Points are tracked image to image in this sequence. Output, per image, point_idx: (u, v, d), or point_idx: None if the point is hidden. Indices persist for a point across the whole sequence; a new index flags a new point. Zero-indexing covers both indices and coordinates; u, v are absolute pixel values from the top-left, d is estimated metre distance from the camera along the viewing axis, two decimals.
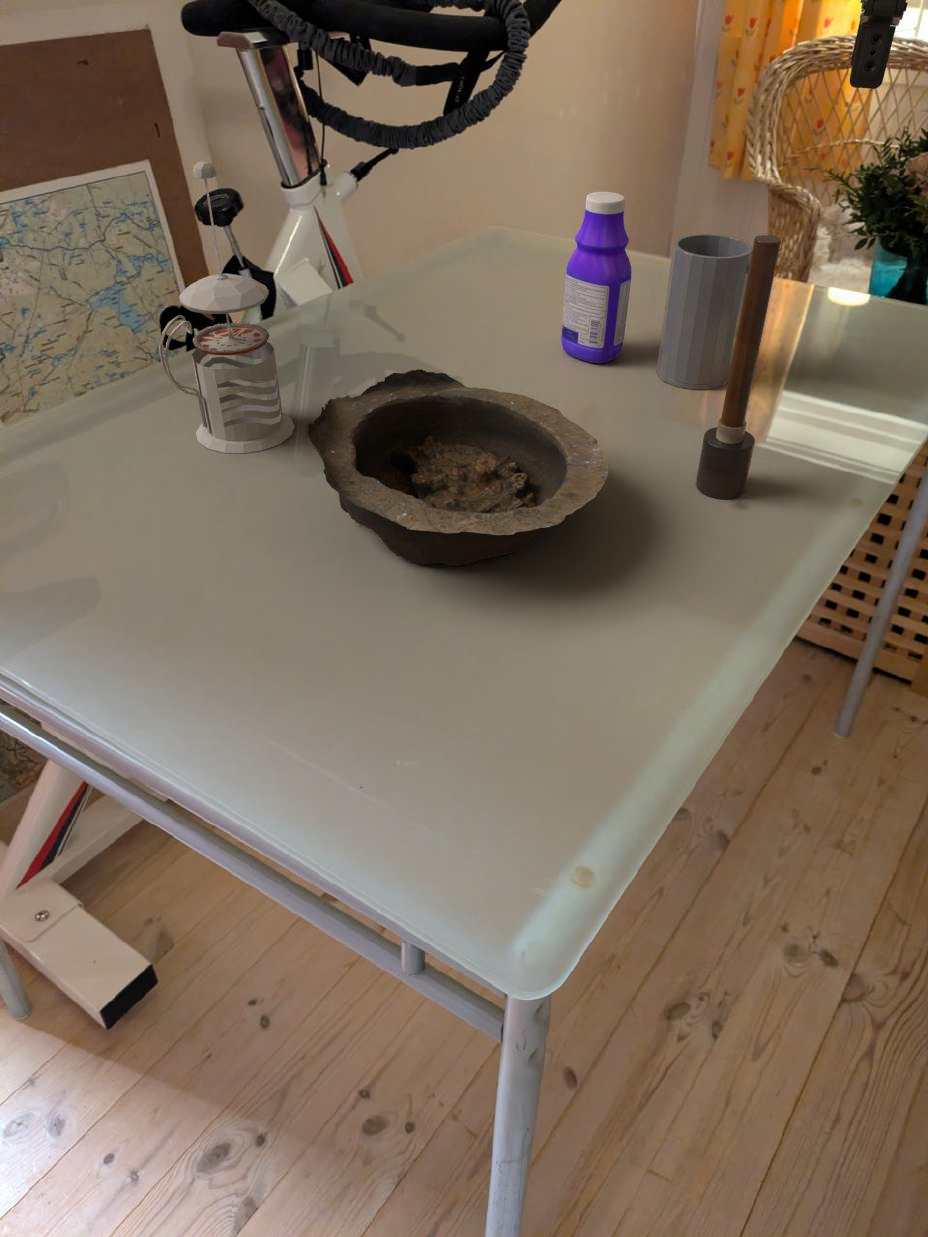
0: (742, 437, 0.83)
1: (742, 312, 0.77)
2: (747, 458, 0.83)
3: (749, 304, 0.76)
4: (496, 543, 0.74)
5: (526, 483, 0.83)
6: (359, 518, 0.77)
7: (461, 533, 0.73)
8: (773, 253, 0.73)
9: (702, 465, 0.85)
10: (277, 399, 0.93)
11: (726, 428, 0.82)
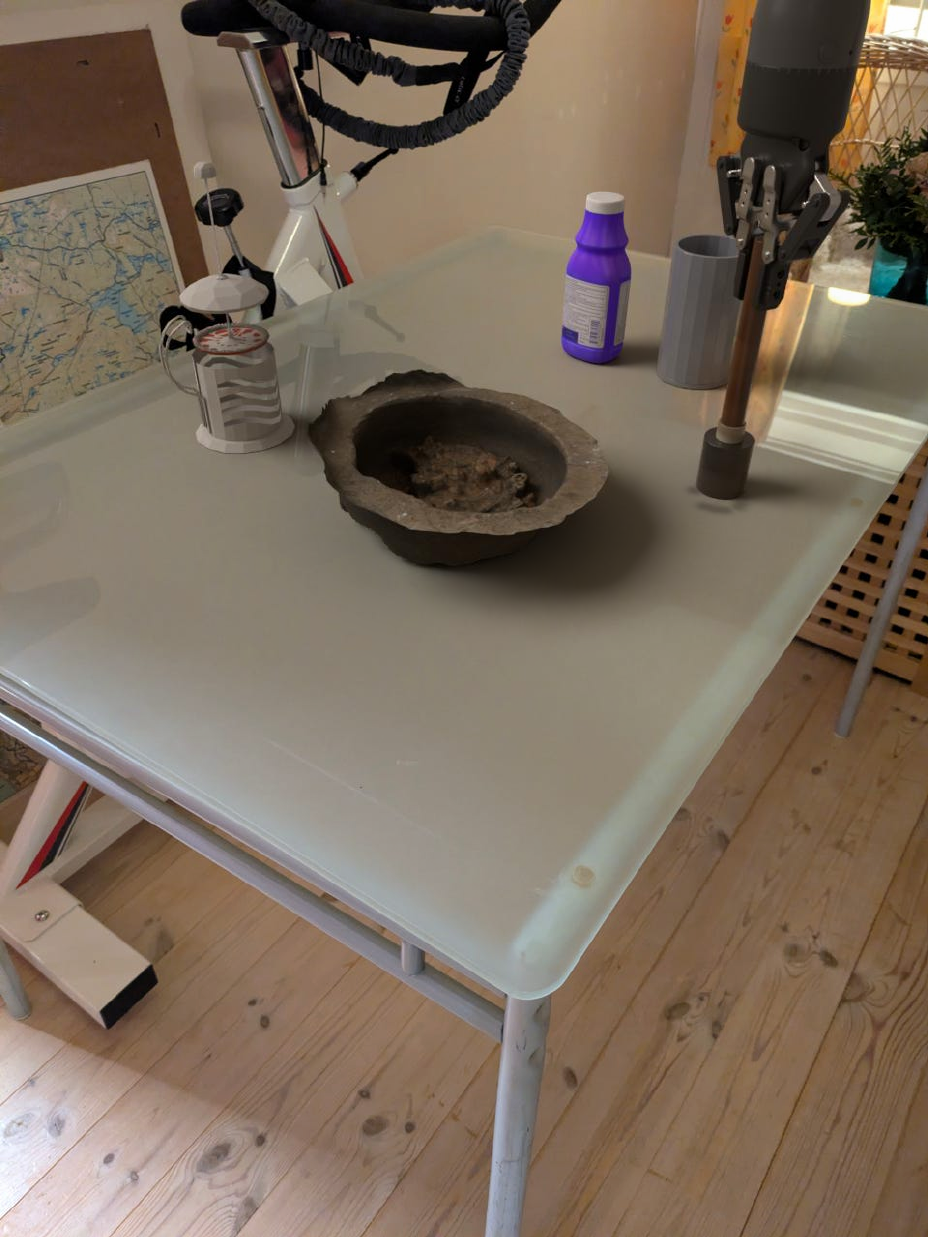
0: (742, 437, 0.83)
1: (742, 312, 0.77)
2: (747, 458, 0.83)
3: (749, 304, 0.76)
4: (496, 543, 0.74)
5: (526, 483, 0.83)
6: (359, 518, 0.77)
7: (461, 533, 0.73)
8: None
9: (702, 465, 0.85)
10: (277, 399, 0.93)
11: (726, 428, 0.82)
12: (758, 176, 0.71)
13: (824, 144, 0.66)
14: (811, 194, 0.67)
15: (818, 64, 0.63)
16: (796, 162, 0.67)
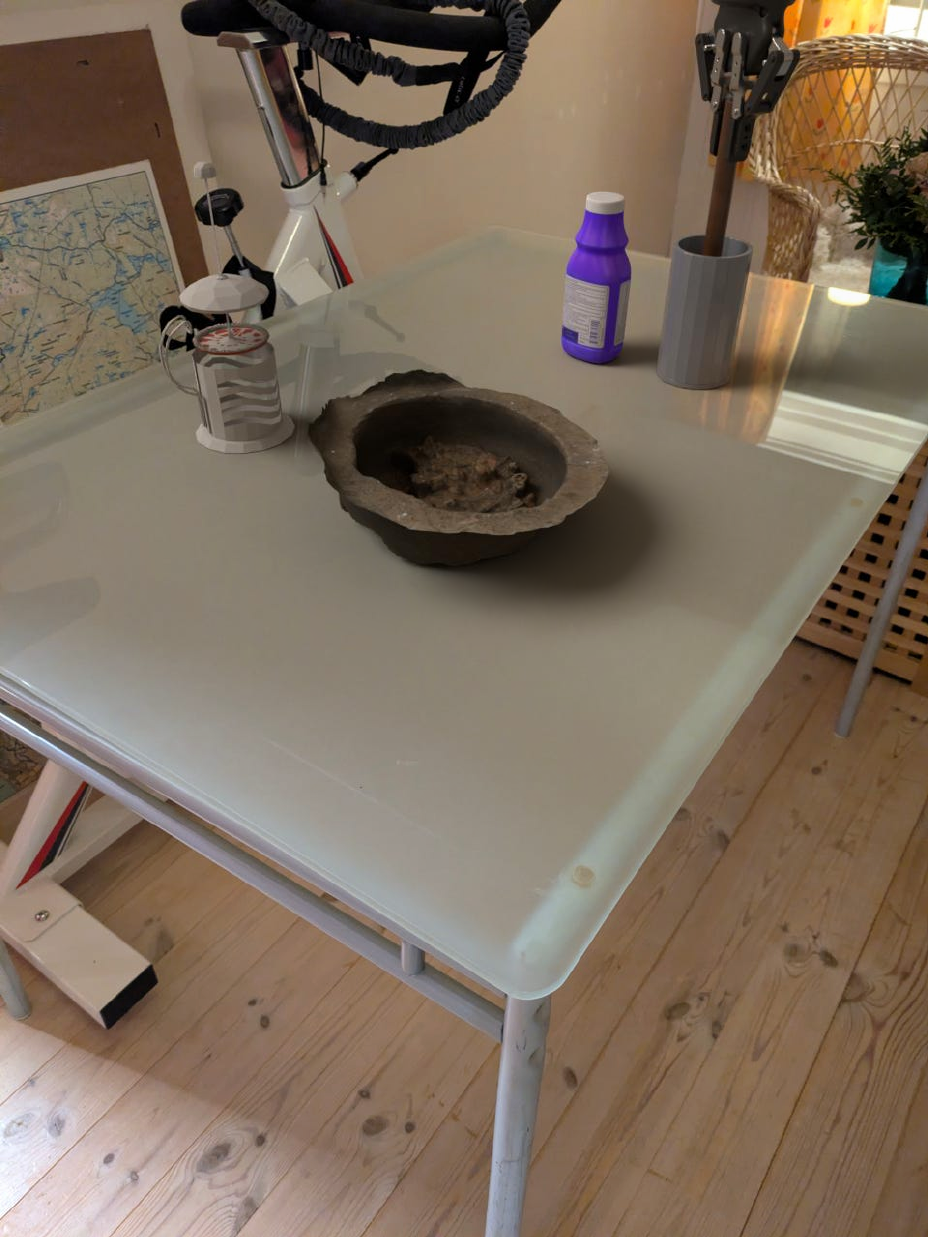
0: None
1: (716, 165, 0.92)
2: None
3: (721, 157, 0.92)
4: (496, 543, 0.74)
5: (526, 483, 0.83)
6: (359, 518, 0.77)
7: (461, 533, 0.73)
8: None
9: None
10: (277, 399, 0.93)
11: None
12: (728, 44, 0.86)
13: (779, 11, 0.82)
14: (769, 54, 0.83)
15: None
16: (757, 28, 0.83)
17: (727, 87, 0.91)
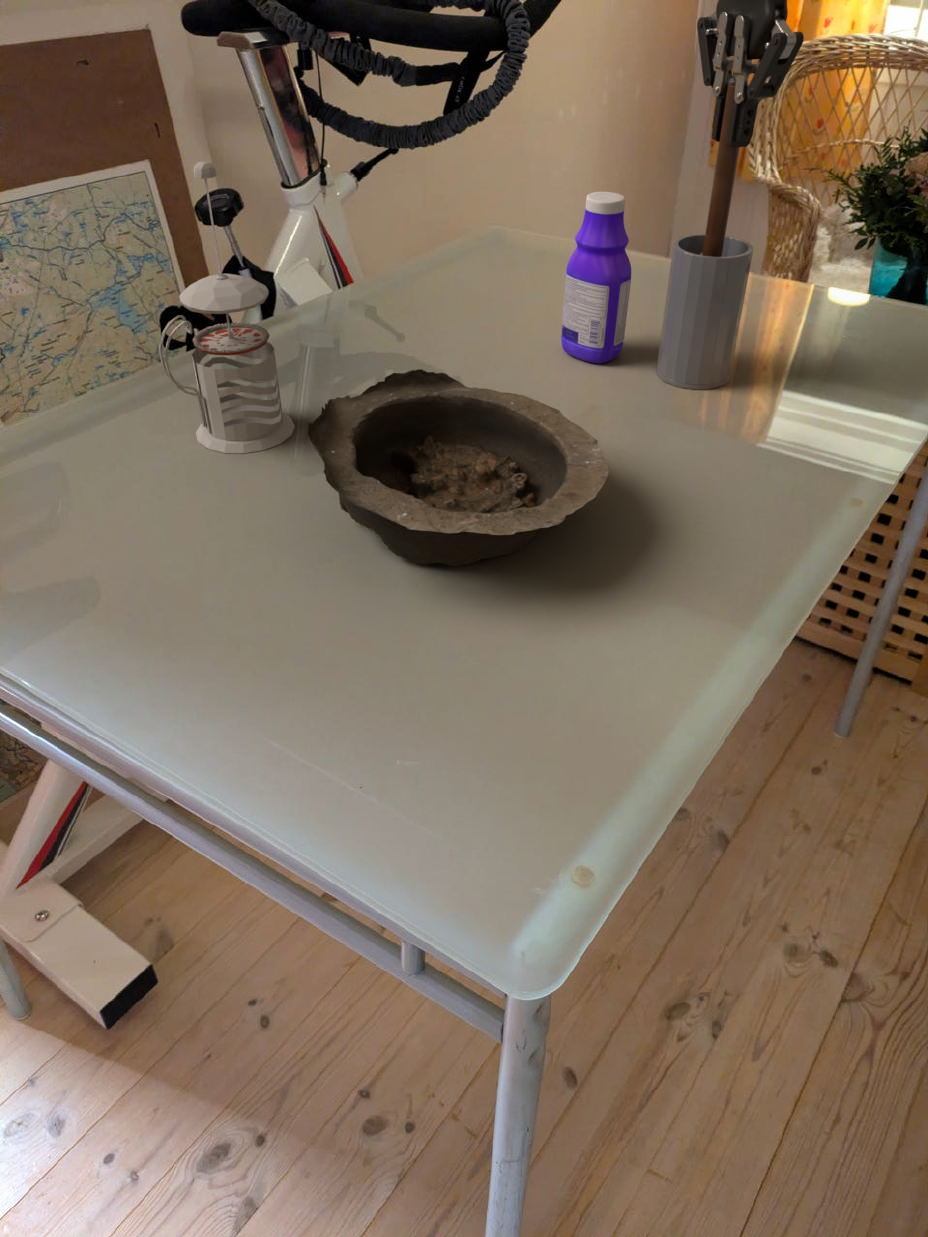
0: None
1: (718, 151, 0.92)
2: None
3: (724, 143, 0.91)
4: (496, 543, 0.74)
5: (526, 483, 0.83)
6: (359, 518, 0.77)
7: (461, 533, 0.73)
8: None
9: None
10: (277, 399, 0.93)
11: None
12: (730, 28, 0.86)
13: None
14: (772, 36, 0.82)
15: None
16: (760, 10, 0.82)
17: (729, 72, 0.91)
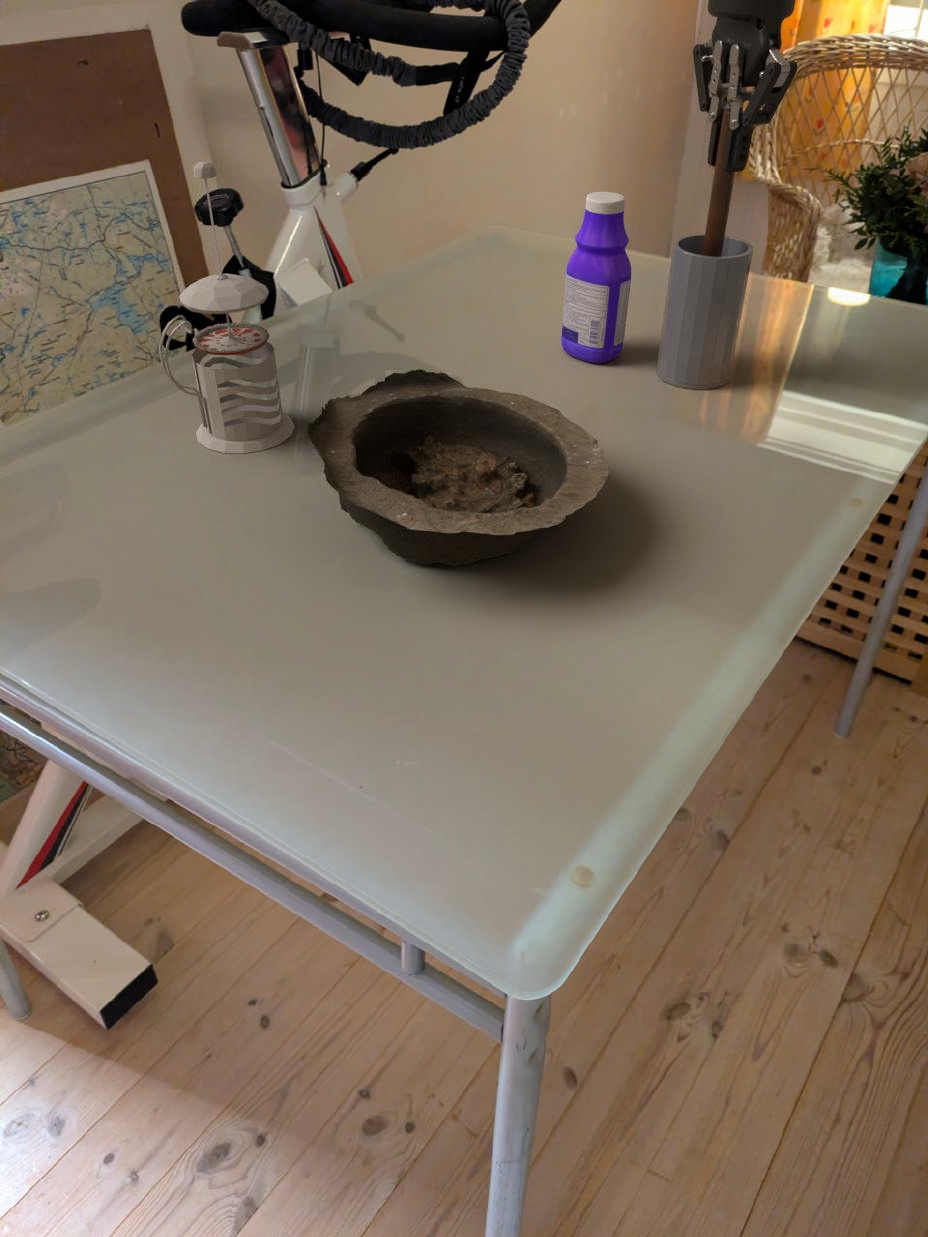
0: None
1: (714, 176, 0.93)
2: None
3: (719, 168, 0.92)
4: (496, 543, 0.74)
5: (526, 483, 0.83)
6: (359, 518, 0.77)
7: (461, 533, 0.73)
8: None
9: None
10: (277, 399, 0.93)
11: None
12: (725, 56, 0.87)
13: (776, 23, 0.82)
14: (767, 65, 0.84)
15: None
16: (754, 39, 0.83)
17: (725, 98, 0.92)
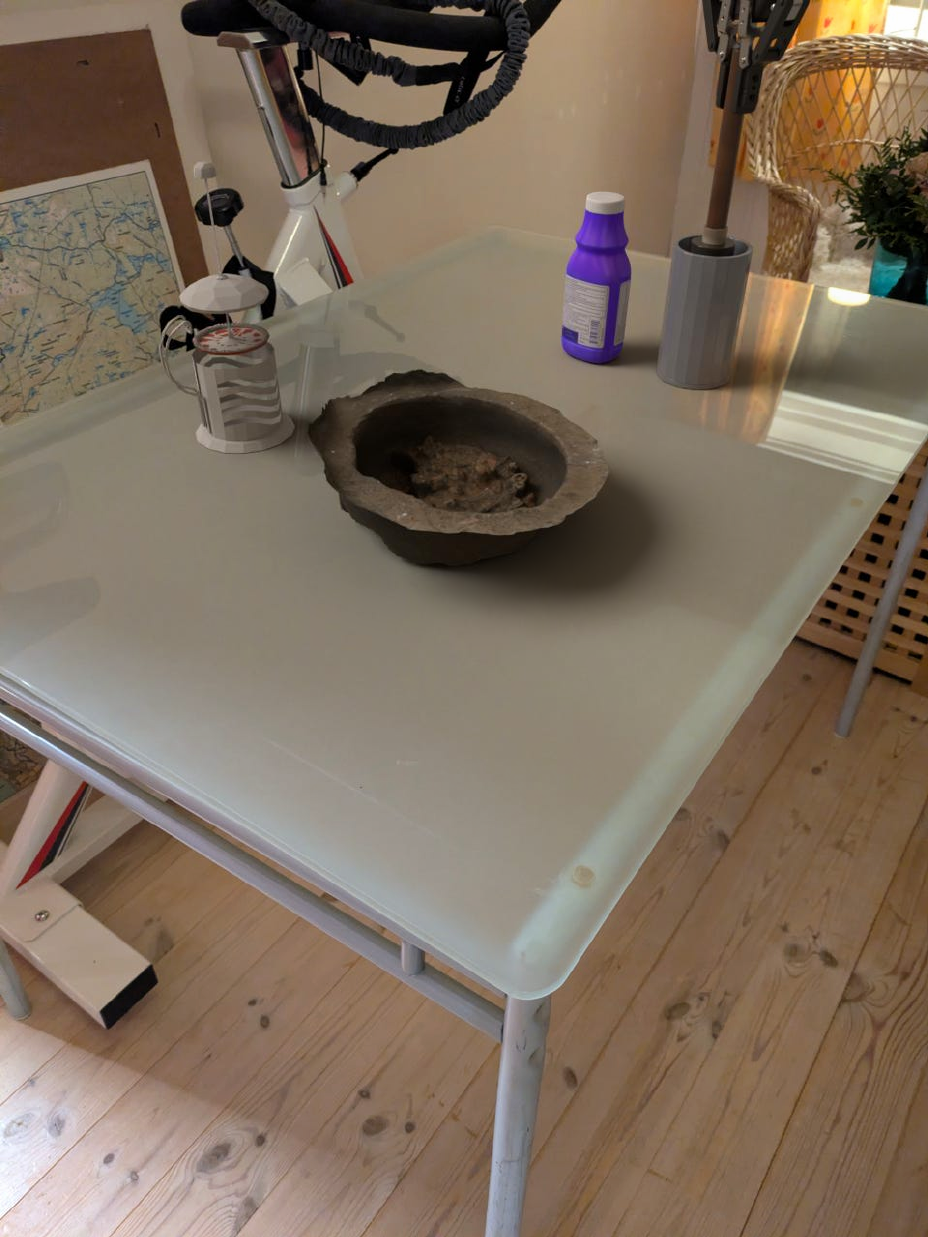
0: (724, 239, 0.96)
1: (723, 119, 0.90)
2: None
3: (728, 110, 0.89)
4: (496, 543, 0.74)
5: (526, 483, 0.83)
6: (359, 518, 0.77)
7: (461, 533, 0.73)
8: None
9: None
10: (277, 399, 0.93)
11: (710, 230, 0.96)
12: None
13: None
14: None
15: None
16: None
17: (734, 37, 0.89)
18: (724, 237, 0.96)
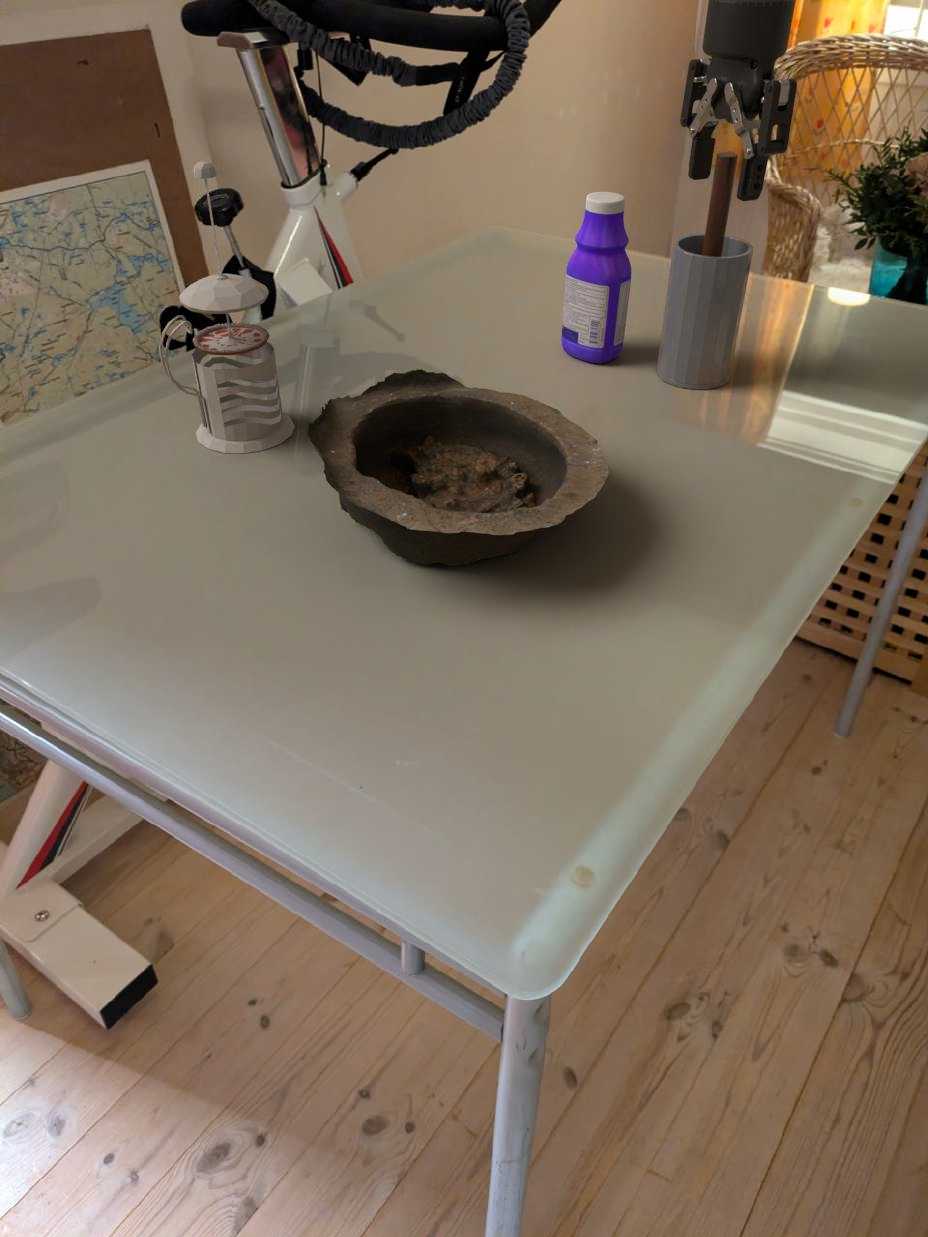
0: None
1: (708, 216, 0.95)
2: None
3: (713, 209, 0.94)
4: (496, 543, 0.74)
5: (526, 483, 0.83)
6: (359, 518, 0.77)
7: (461, 533, 0.73)
8: (731, 165, 0.92)
9: None
10: (277, 399, 0.93)
11: None
12: (717, 95, 0.89)
13: (770, 63, 0.84)
14: None
15: None
16: (748, 79, 0.85)
17: None
18: None
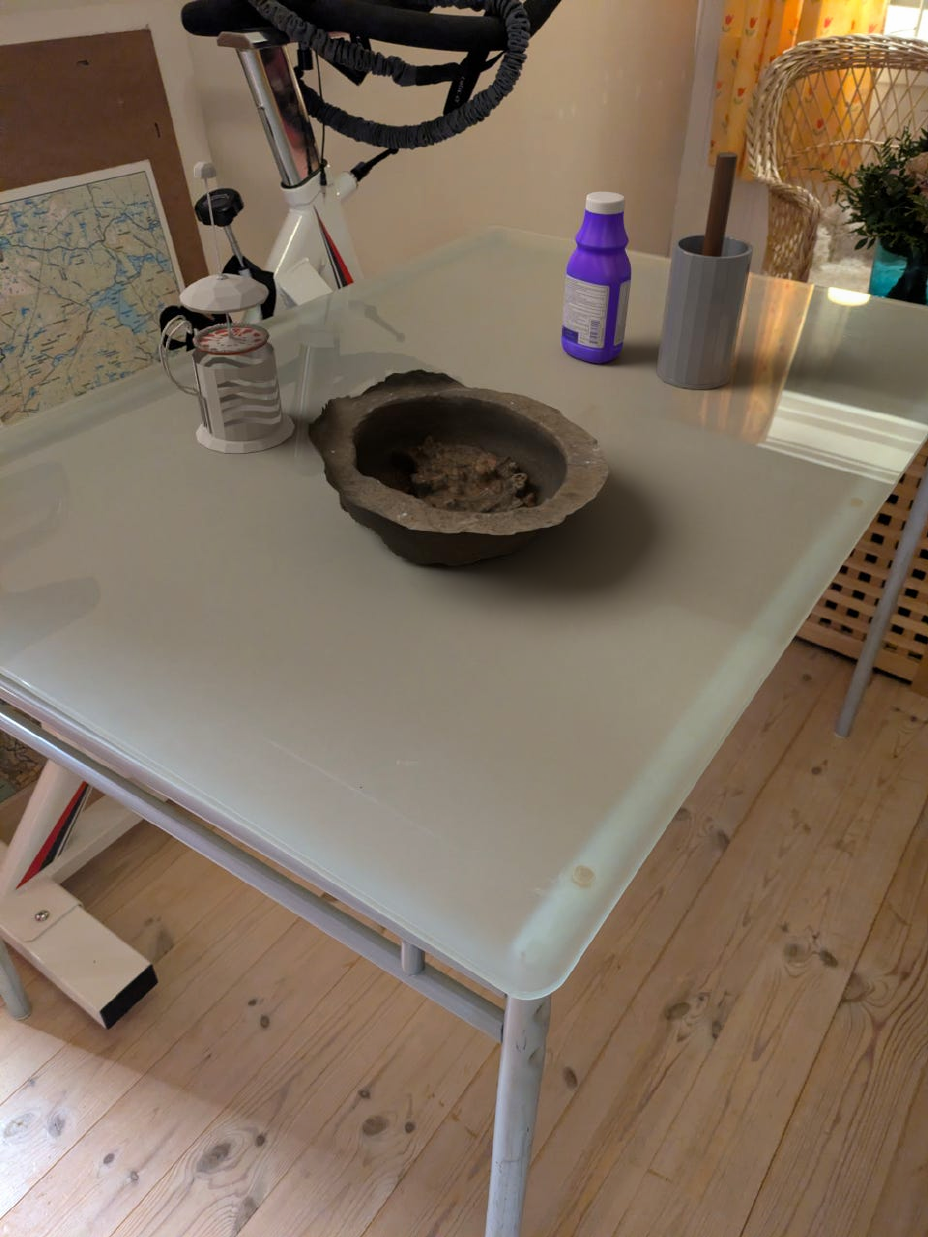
0: None
1: (708, 216, 0.95)
2: None
3: (713, 209, 0.94)
4: (496, 543, 0.74)
5: (526, 483, 0.83)
6: (359, 518, 0.77)
7: (461, 533, 0.73)
8: (731, 165, 0.92)
9: None
10: (277, 399, 0.93)
11: None
12: None
13: None
14: None
15: None
16: None
17: None
18: None
